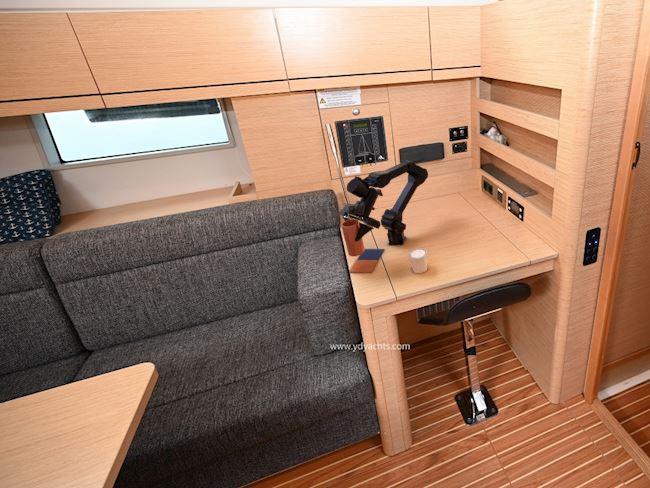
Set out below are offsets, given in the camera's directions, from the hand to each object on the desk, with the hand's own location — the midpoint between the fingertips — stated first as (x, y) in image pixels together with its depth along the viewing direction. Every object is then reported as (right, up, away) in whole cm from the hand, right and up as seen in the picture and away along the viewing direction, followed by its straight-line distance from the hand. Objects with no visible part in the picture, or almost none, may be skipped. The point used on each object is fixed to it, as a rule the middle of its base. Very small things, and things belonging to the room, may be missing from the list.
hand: (350, 239), depth 129 cm
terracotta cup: (+1, -6, +3) cm, 7 cm away
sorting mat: (+4, -10, +9) cm, 15 cm away
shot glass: (+27, -12, +1) cm, 29 cm away
